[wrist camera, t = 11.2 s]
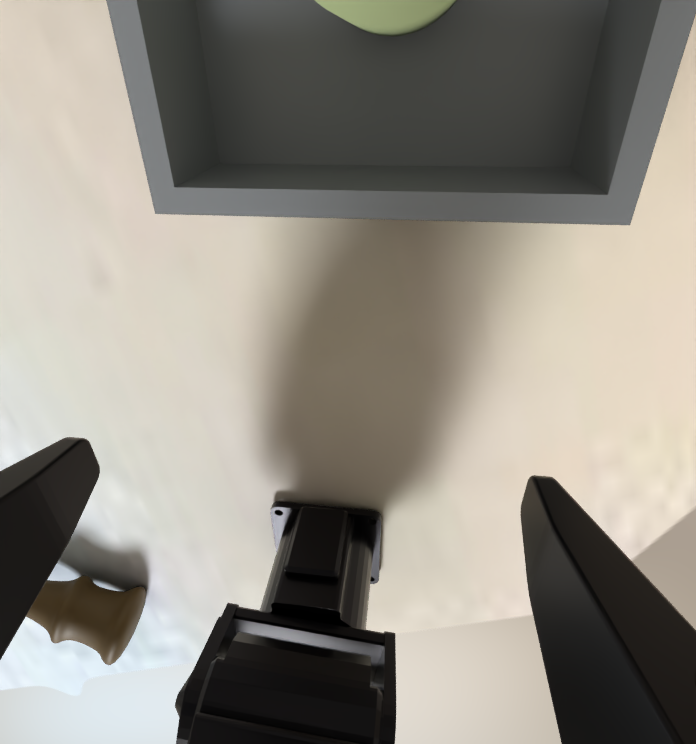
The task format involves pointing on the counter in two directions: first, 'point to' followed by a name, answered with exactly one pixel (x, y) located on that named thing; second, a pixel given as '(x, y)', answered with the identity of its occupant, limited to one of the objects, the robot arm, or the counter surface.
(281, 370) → the counter surface
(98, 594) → the kendama
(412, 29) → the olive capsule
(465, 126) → the charcoal bin
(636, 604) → the robot arm
